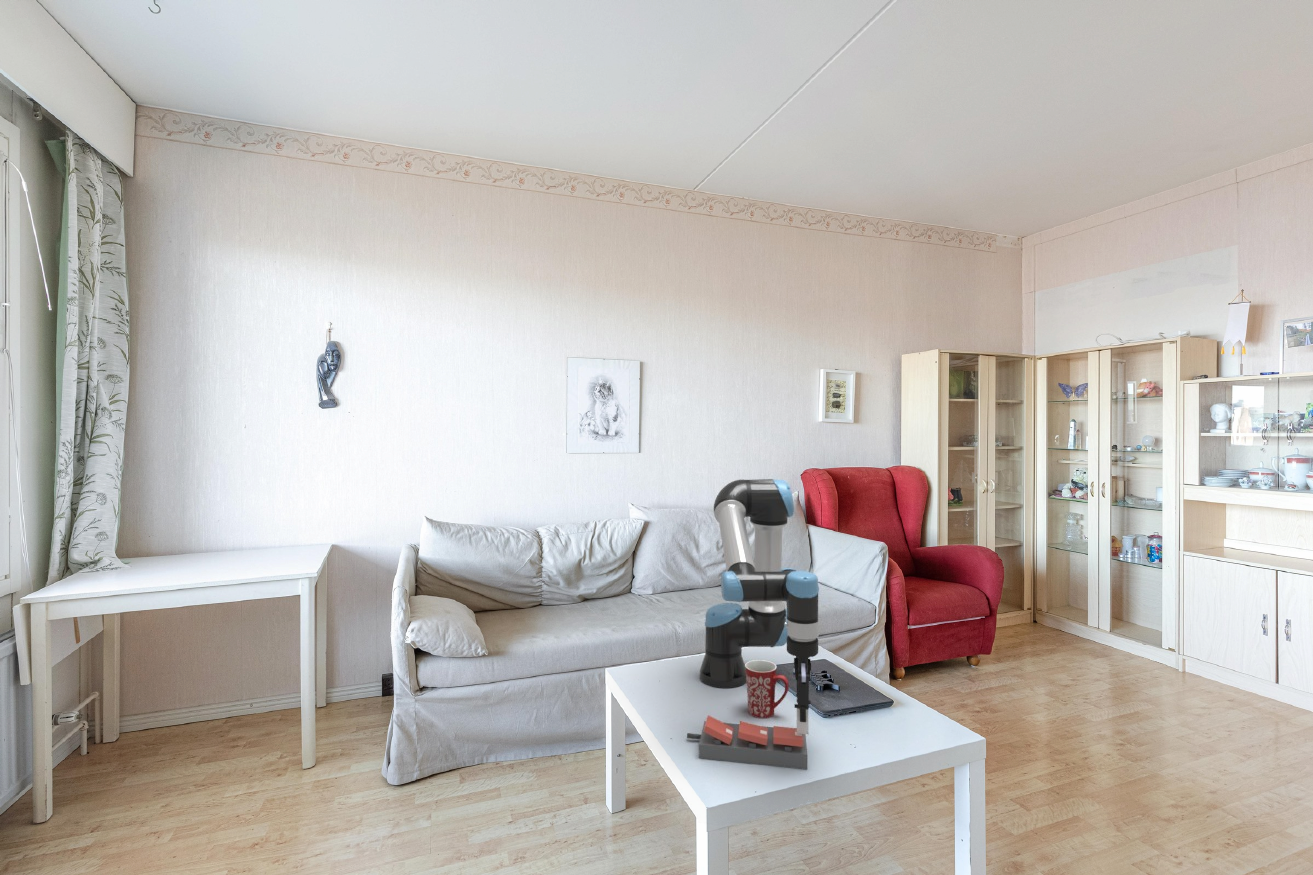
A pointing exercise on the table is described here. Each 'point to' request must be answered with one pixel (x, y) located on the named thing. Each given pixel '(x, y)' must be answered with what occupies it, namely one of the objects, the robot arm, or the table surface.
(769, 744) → the power strip
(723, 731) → the rocker
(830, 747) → the table surface
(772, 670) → the mug
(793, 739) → the block
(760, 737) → the red box
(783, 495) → the robot arm
